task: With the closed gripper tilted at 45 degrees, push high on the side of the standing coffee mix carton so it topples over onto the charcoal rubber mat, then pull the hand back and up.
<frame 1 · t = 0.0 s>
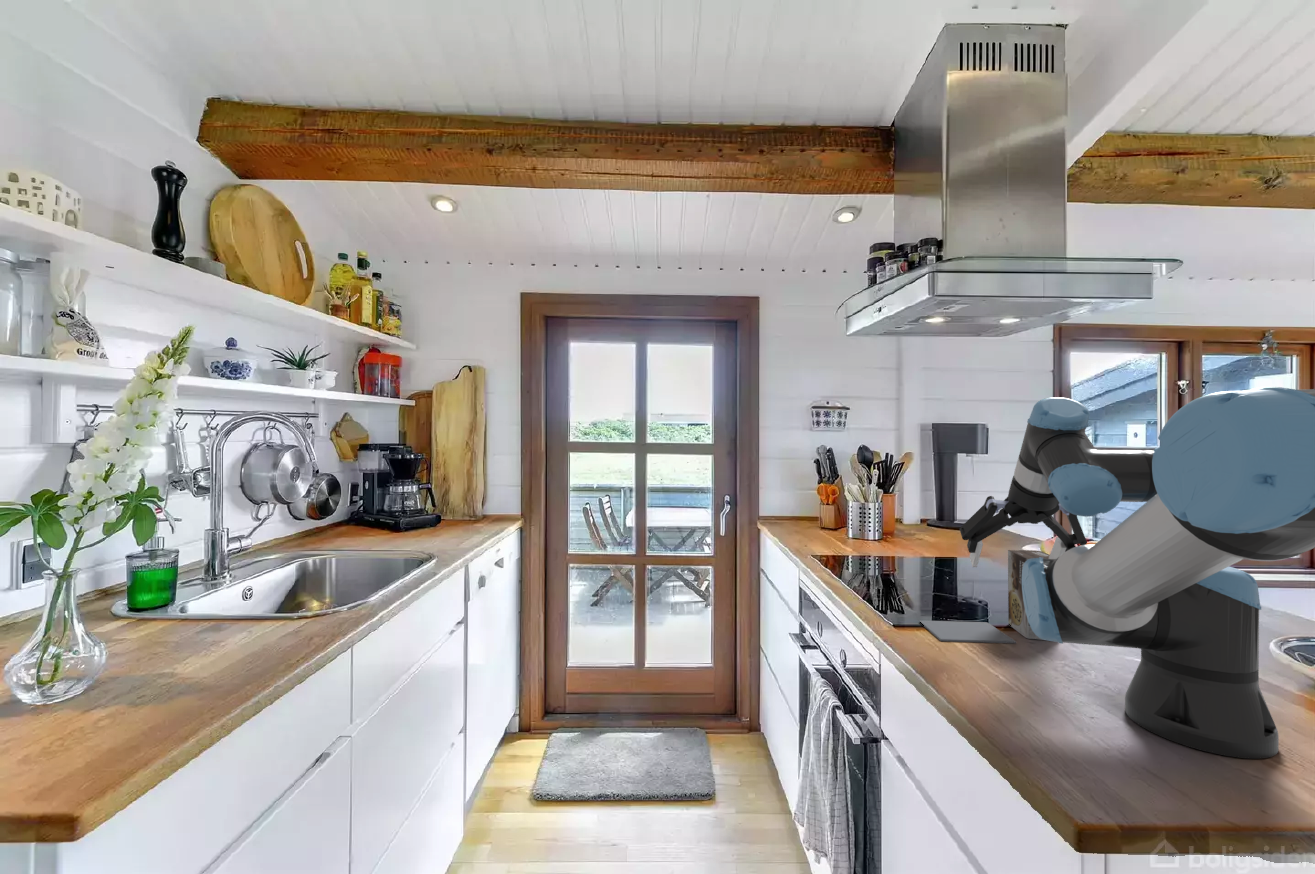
hand: (1012, 564, 108), 15 cm above the worktop, tool tilted 35°, fingers open, 13 cm apart
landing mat: (965, 632, 114), on the worktop
coffee box: (1033, 633, 114), on the worktop
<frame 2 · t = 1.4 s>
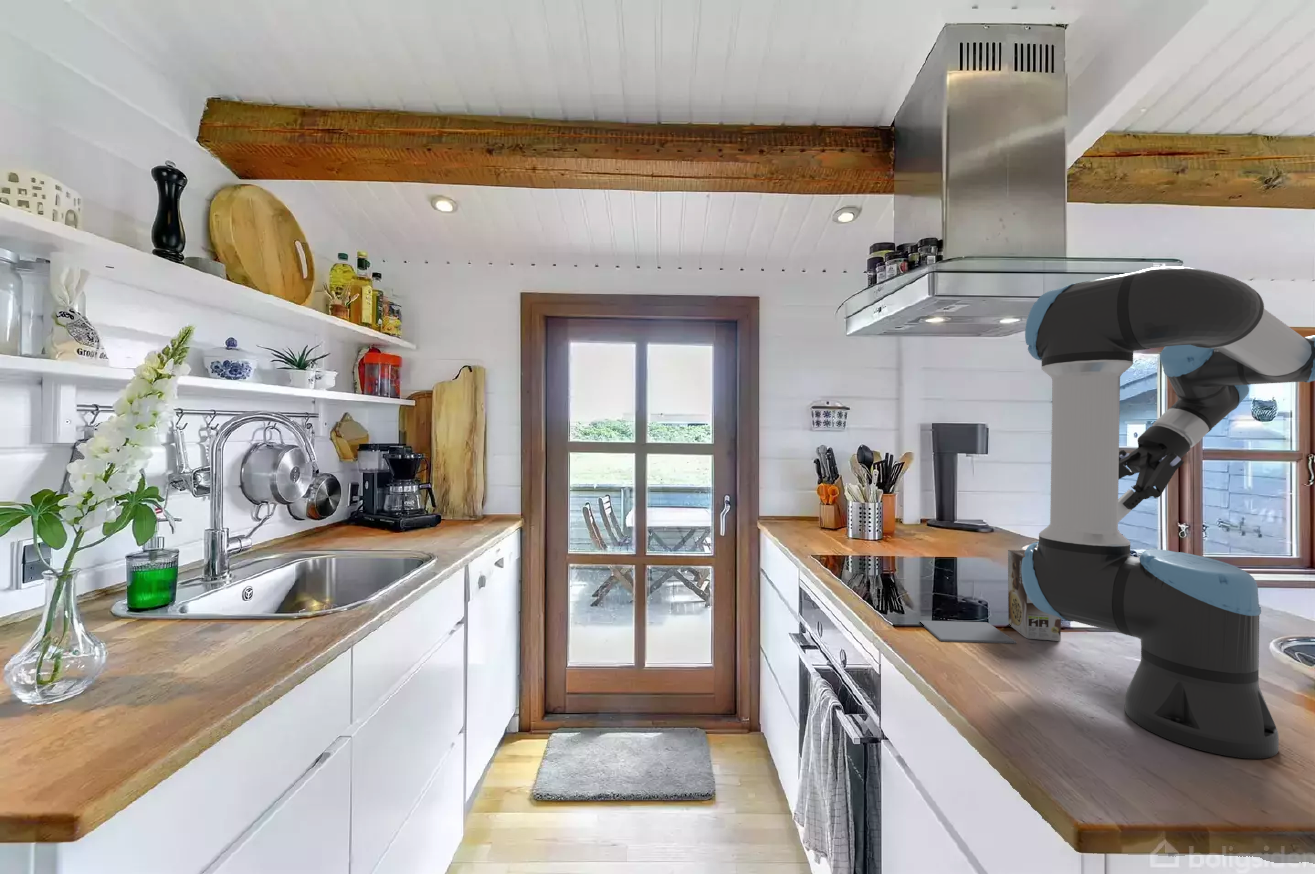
hand: (1088, 513, 113), 24 cm above the worktop, tool tilted 45°, fingers open, 11 cm apart
nothing on the worktop moved.
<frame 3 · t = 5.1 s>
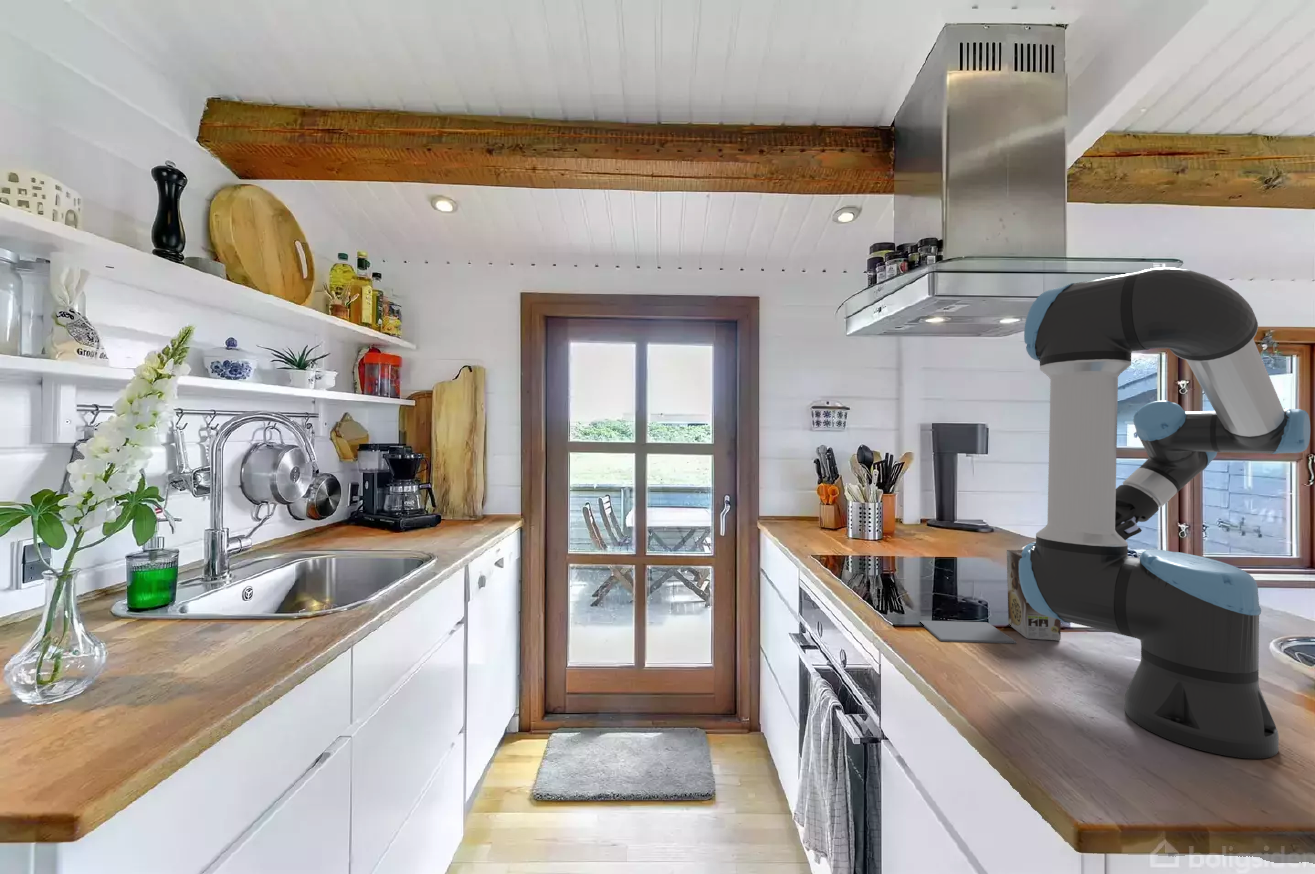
hand: (1052, 576, 114), 11 cm above the worktop, tool tilted 45°, fingers closed
coffee box: (1033, 633, 114), on the worktop, touching gripper
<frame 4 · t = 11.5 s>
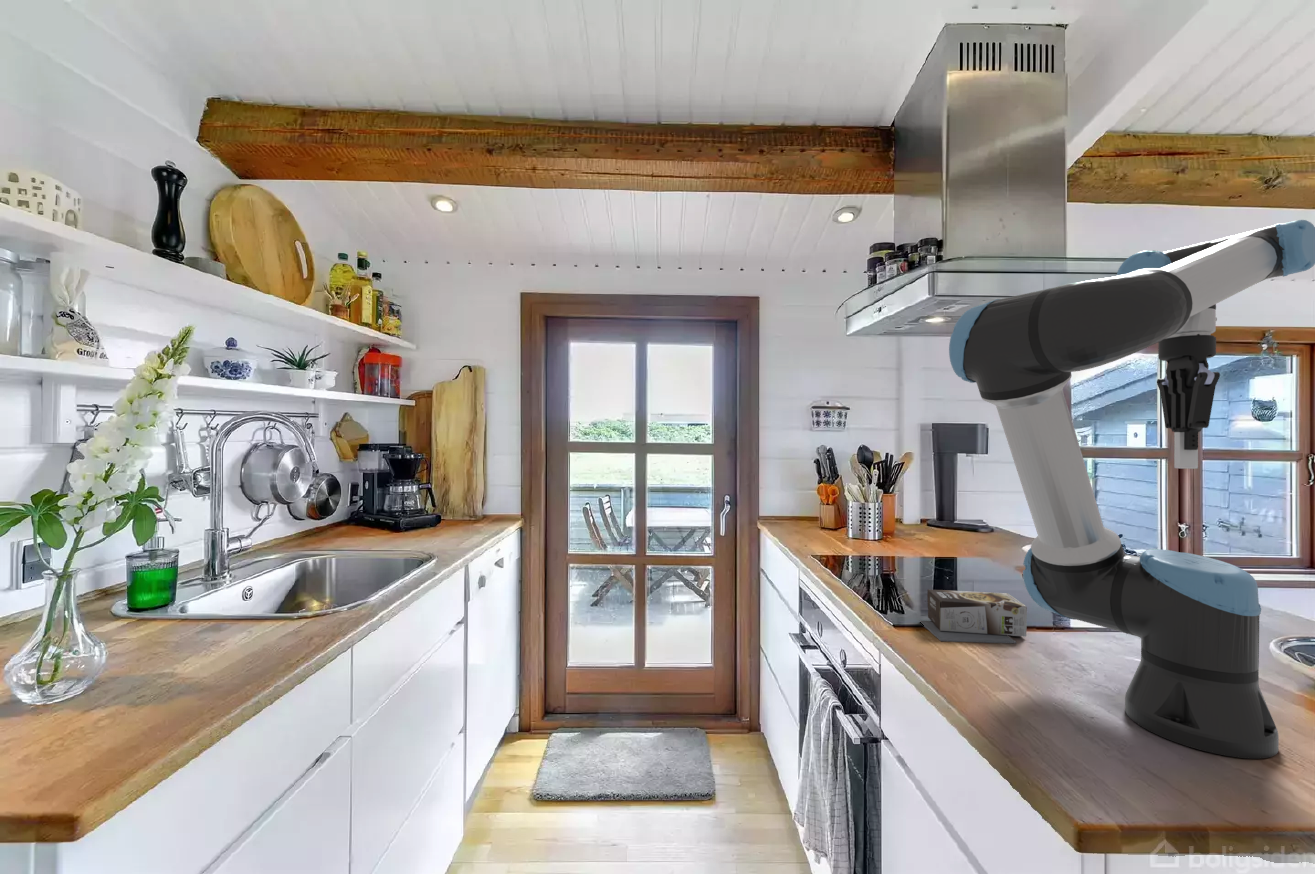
hand: (1185, 468, 100), 34 cm above the worktop, tool pointing down, fingers closed
coffee box: (1018, 614, 114), point 4 cm above the worktop, touching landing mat
at the end: coffee box tilted 90°; coffee box touching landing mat; the gripper is holding nothing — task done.
